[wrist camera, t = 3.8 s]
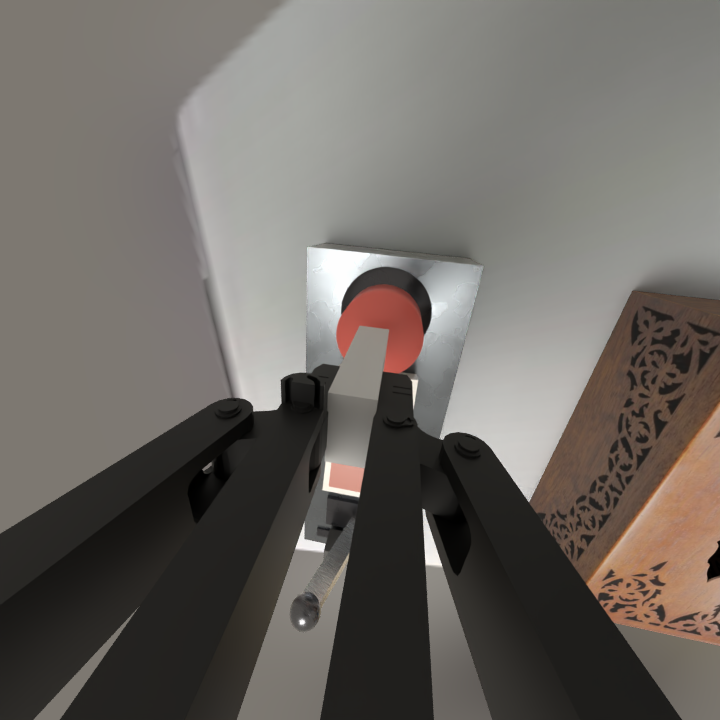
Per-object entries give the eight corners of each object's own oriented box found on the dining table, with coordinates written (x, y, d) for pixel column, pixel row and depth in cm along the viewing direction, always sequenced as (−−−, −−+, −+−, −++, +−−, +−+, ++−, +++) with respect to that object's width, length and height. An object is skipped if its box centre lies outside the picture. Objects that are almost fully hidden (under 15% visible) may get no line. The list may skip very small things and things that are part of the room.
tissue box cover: (657, 535, 33) (751, 652, 24) (523, 510, 34) (564, 611, 25) (839, 313, 22) (1145, 375, 13) (630, 290, 23) (771, 331, 14)
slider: (329, 528, 32) (324, 550, 30) (347, 532, 32) (343, 554, 29) (328, 545, 33) (323, 568, 31) (346, 549, 33) (341, 572, 31)
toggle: (348, 511, 30) (282, 609, 22) (369, 522, 29) (308, 630, 21) (347, 526, 31) (283, 625, 23) (367, 538, 30) (307, 646, 22)
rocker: (341, 363, 23) (335, 368, 21) (416, 374, 23) (418, 381, 20) (328, 476, 25) (321, 492, 23) (397, 489, 25) (397, 506, 22)
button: (348, 279, 19) (338, 289, 16) (428, 289, 18) (431, 300, 15) (343, 351, 21) (334, 370, 18) (414, 361, 20) (415, 382, 17)
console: (325, 243, 25) (301, 248, 19) (469, 258, 24) (488, 268, 18) (316, 502, 38) (301, 549, 33) (407, 520, 37) (407, 572, 32)
